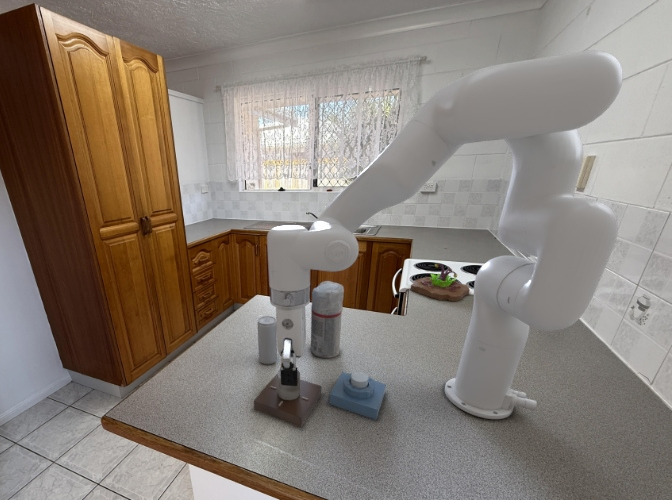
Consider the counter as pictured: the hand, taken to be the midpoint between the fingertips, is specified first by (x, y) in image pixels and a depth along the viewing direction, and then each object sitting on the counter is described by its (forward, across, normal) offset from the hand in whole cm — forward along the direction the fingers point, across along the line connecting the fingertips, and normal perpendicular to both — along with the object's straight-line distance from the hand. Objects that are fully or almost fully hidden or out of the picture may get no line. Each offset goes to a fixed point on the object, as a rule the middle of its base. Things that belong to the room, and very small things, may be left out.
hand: (291, 369), depth 65 cm
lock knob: (+6, 0, +1) cm, 6 cm away
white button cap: (+5, +3, -14) cm, 15 cm away
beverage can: (+9, +15, +8) cm, 19 cm away
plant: (+10, +73, -53) cm, 91 cm away
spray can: (+9, +22, -7) cm, 24 cm away
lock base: (+8, 0, +1) cm, 9 cm away
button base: (+9, +3, -14) cm, 17 cm away
